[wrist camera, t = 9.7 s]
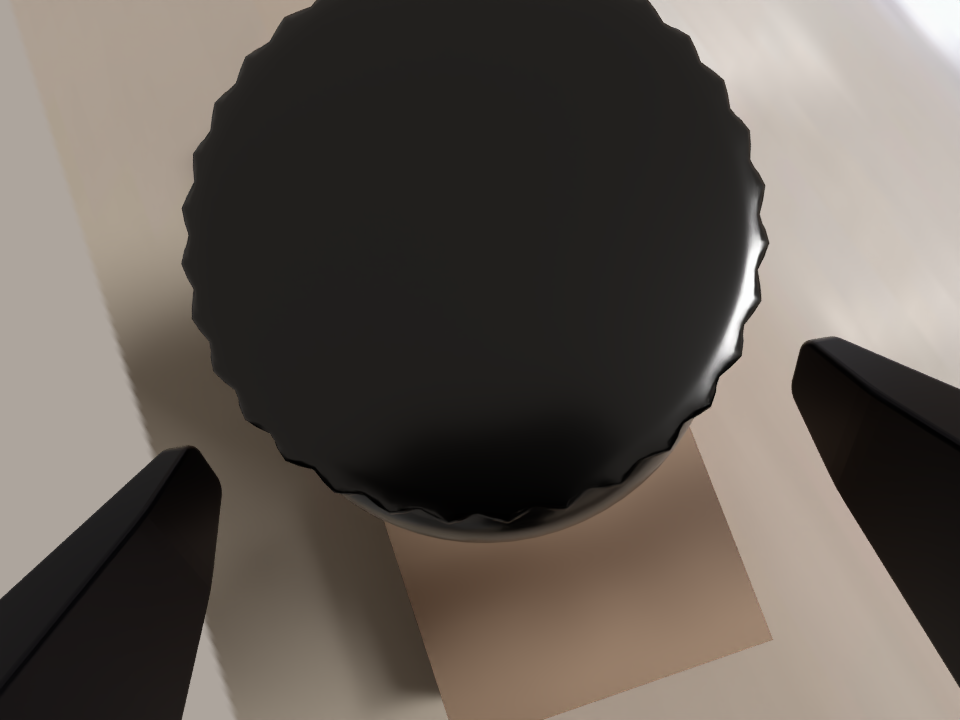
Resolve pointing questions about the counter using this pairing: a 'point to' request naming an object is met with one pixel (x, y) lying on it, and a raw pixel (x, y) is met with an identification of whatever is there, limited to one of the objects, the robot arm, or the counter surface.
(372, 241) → the supplement bottle
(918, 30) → the counter surface
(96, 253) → the counter surface
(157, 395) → the counter surface
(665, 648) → the walnut ledge
